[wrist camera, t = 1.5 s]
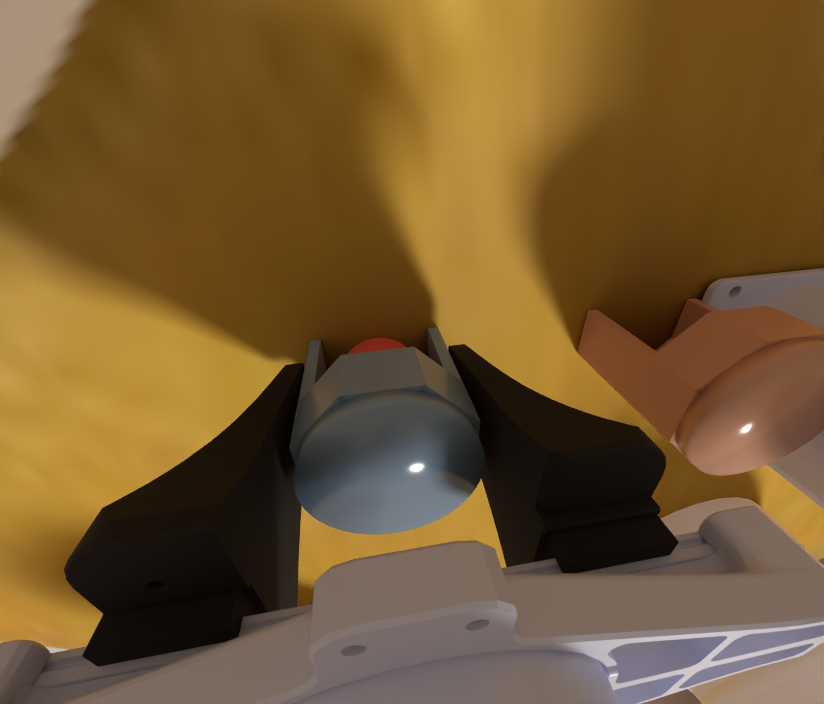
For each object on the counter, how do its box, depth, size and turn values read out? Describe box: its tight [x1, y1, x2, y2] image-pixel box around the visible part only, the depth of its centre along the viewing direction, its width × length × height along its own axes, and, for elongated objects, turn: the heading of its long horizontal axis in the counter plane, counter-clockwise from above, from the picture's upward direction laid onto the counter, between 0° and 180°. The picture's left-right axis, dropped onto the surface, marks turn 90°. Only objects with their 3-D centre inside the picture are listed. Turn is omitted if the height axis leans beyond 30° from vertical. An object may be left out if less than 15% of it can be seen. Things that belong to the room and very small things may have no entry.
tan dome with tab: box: [577, 298, 824, 476], centre depth 13 cm, size 5×5×6 cm
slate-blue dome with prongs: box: [289, 327, 485, 534], centre depth 12 cm, size 5×5×6 cm
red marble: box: [348, 337, 407, 354], centre depth 13 cm, size 3×3×3 cm
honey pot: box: [661, 497, 824, 704], centre depth 21 cm, size 13×13×18 cm
